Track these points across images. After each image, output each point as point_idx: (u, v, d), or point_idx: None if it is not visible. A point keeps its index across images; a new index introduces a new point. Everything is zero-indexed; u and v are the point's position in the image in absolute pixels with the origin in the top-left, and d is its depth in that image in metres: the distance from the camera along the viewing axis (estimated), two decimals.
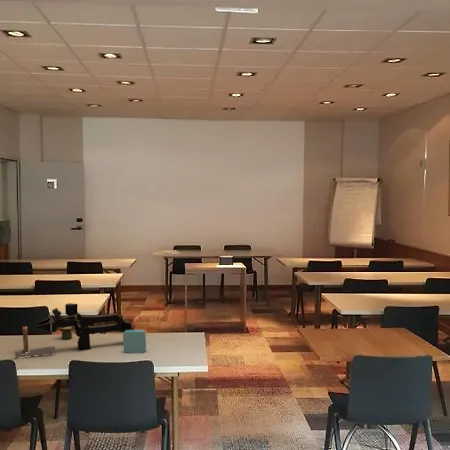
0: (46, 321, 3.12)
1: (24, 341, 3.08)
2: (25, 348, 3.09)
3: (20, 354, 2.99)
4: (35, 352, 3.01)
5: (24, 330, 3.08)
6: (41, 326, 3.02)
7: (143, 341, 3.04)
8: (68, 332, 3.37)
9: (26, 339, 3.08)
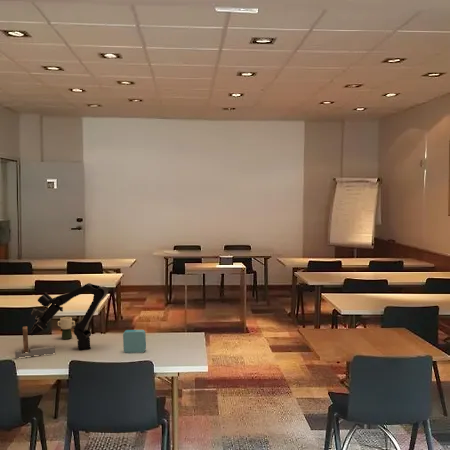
0: None
1: (24, 341, 3.08)
2: (25, 348, 3.09)
3: (20, 354, 2.99)
4: (35, 352, 3.01)
5: (24, 330, 3.08)
6: (33, 332, 3.08)
7: (143, 341, 3.04)
8: (68, 332, 3.37)
9: (26, 339, 3.08)
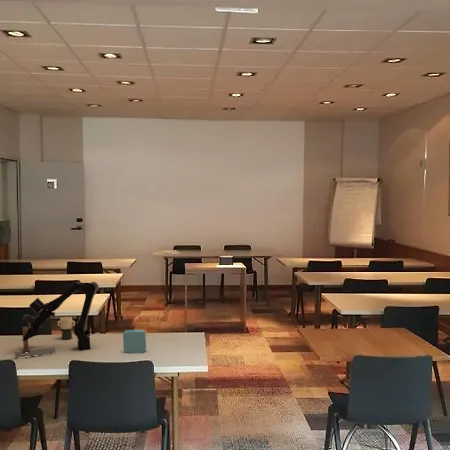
0: None
1: (24, 341, 3.08)
2: (25, 348, 3.09)
3: (20, 354, 2.99)
4: (35, 352, 3.01)
5: (24, 330, 3.08)
6: (25, 337, 3.07)
7: (143, 341, 3.04)
8: (68, 332, 3.37)
9: None
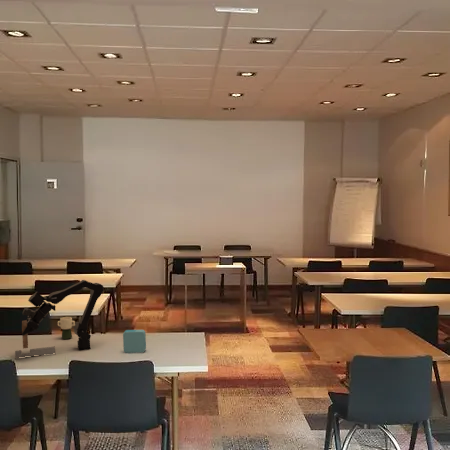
0: None
1: (23, 336, 2.97)
2: (24, 343, 2.97)
3: (20, 354, 2.99)
4: (35, 352, 3.01)
5: (23, 324, 2.97)
6: (24, 332, 2.96)
7: (143, 341, 3.04)
8: (68, 332, 3.37)
9: None
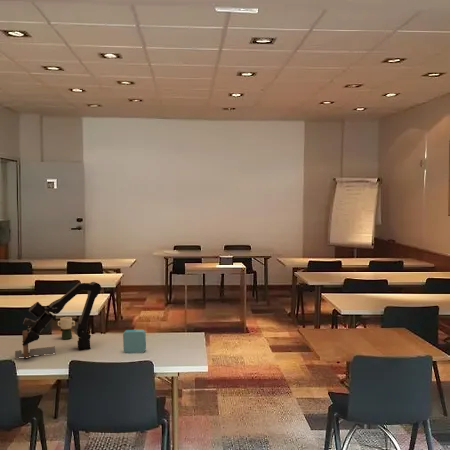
0: None
1: (24, 346, 2.97)
2: (25, 353, 2.97)
3: (20, 354, 2.99)
4: (35, 352, 3.01)
5: (24, 334, 2.97)
6: (25, 342, 2.96)
7: (143, 341, 3.04)
8: (68, 332, 3.37)
9: None
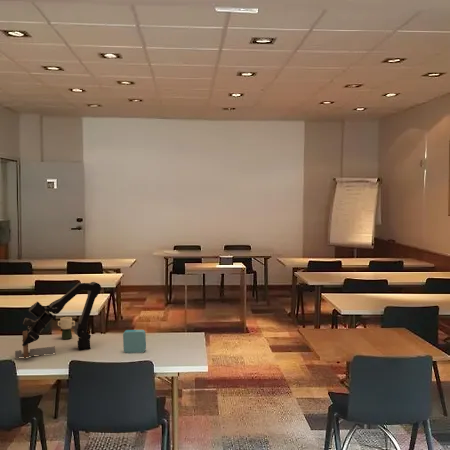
0: None
1: (24, 346, 2.97)
2: (25, 354, 2.97)
3: (20, 354, 2.99)
4: (35, 352, 3.01)
5: (24, 335, 2.97)
6: (25, 342, 2.95)
7: (143, 341, 3.04)
8: (68, 332, 3.37)
9: None
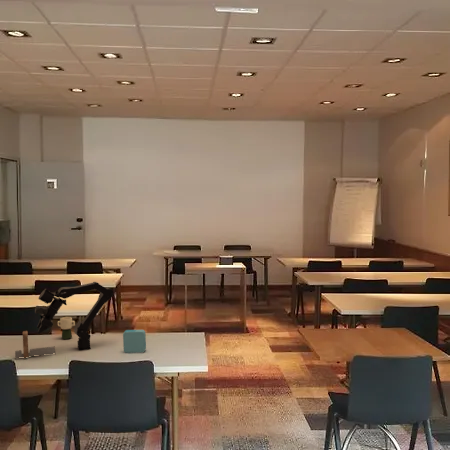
0: (42, 319, 3.11)
1: (24, 346, 2.97)
2: (25, 354, 2.97)
3: (20, 354, 2.99)
4: (35, 352, 3.01)
5: (24, 335, 2.97)
6: (40, 330, 3.01)
7: (143, 341, 3.04)
8: (68, 332, 3.37)
9: (26, 344, 2.97)
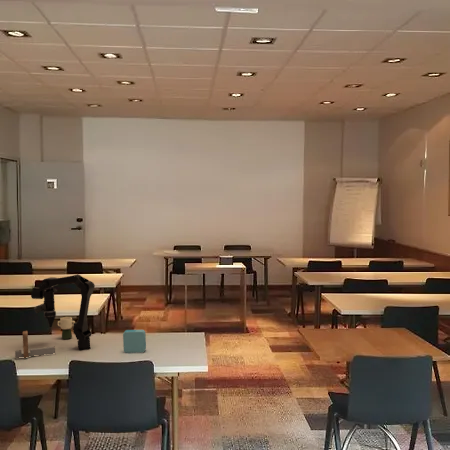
0: None
1: (24, 346, 2.97)
2: (25, 354, 2.97)
3: (20, 354, 2.99)
4: (35, 352, 3.01)
5: (24, 335, 2.97)
6: (50, 323, 3.15)
7: (143, 341, 3.04)
8: (68, 332, 3.37)
9: (26, 344, 2.97)
